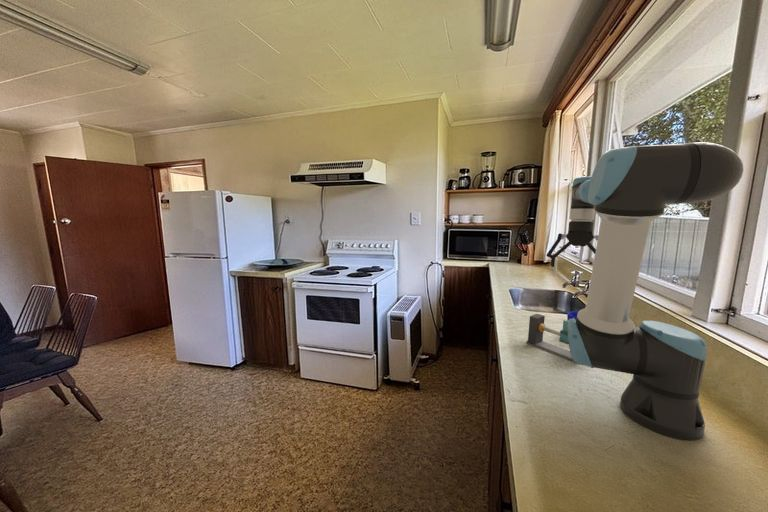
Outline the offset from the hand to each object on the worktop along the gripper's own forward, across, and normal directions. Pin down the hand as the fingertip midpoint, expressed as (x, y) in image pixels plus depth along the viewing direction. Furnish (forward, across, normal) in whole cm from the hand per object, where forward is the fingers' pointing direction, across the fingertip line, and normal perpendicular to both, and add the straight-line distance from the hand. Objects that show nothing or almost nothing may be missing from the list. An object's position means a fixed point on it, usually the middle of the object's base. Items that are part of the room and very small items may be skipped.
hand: (575, 277), depth 110 cm
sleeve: (+21, 0, +12) cm, 24 cm away
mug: (+26, -4, -8) cm, 27 cm away
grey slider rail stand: (+26, +4, +10) cm, 28 cm away
